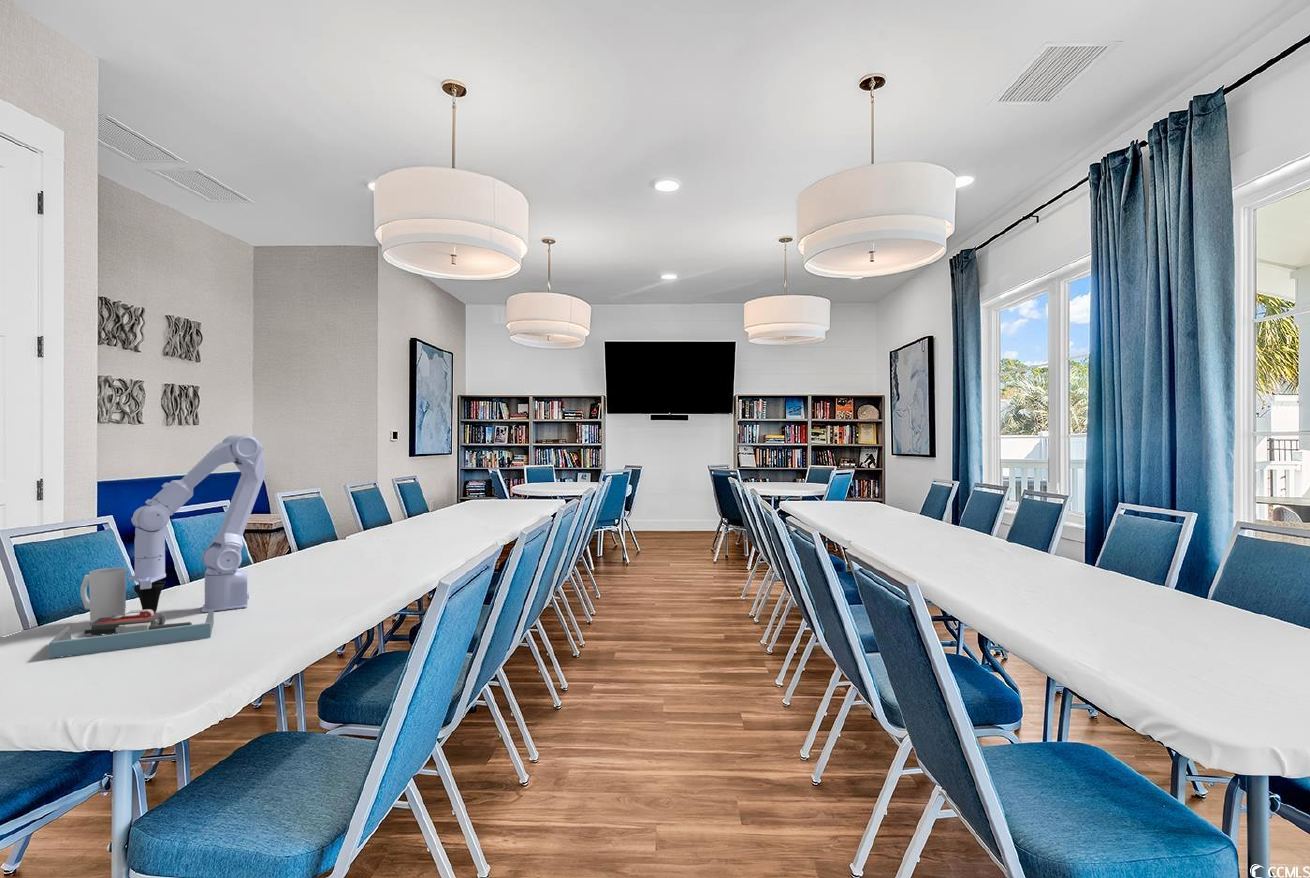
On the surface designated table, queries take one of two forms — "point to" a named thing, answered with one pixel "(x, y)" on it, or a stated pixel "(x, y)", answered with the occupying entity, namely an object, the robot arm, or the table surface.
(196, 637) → the tray
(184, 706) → the table surface
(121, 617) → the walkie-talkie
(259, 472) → the robot arm
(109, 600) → the mug
